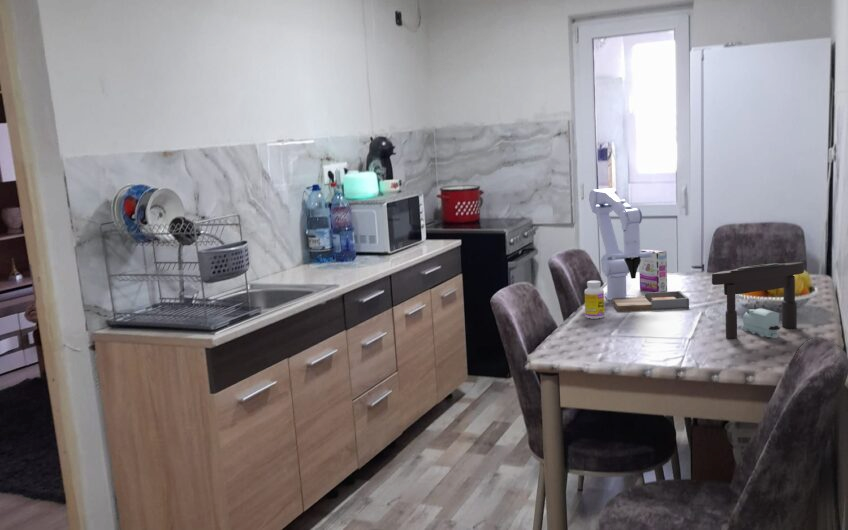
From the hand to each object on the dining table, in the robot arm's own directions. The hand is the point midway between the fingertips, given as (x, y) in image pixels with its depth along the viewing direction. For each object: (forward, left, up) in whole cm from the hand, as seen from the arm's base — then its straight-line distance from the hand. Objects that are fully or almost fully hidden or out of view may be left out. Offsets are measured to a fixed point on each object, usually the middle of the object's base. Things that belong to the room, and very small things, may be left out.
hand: (633, 278), depth 285 cm
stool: (+46, +30, -11) cm, 56 cm away
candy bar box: (-25, +12, -11) cm, 30 cm away
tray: (+2, +11, -10) cm, 16 cm away
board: (+2, -1, -10) cm, 11 cm away
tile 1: (+2, +8, -10) cm, 13 cm away
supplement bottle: (+16, -16, -11) cm, 25 cm away
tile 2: (+2, +13, -10) cm, 16 cm away
